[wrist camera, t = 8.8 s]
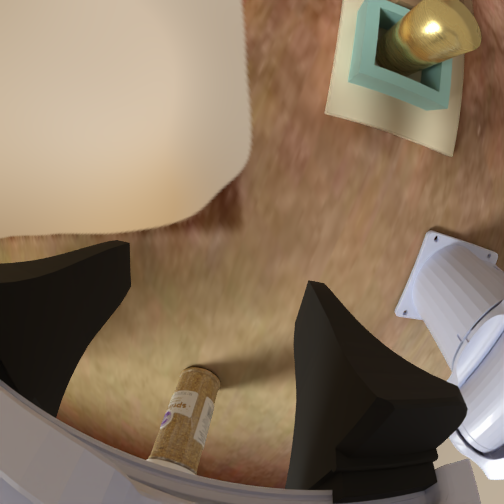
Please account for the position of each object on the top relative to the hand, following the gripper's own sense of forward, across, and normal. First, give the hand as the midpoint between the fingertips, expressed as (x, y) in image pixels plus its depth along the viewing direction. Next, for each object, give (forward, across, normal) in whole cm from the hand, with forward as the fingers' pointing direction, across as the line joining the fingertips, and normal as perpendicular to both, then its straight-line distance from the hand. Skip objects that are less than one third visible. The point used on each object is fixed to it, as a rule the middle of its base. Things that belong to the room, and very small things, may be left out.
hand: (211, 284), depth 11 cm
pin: (+9, -8, -14) cm, 18 cm away
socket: (+9, -8, -13) cm, 18 cm away
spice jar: (+11, +2, +19) cm, 22 cm away
